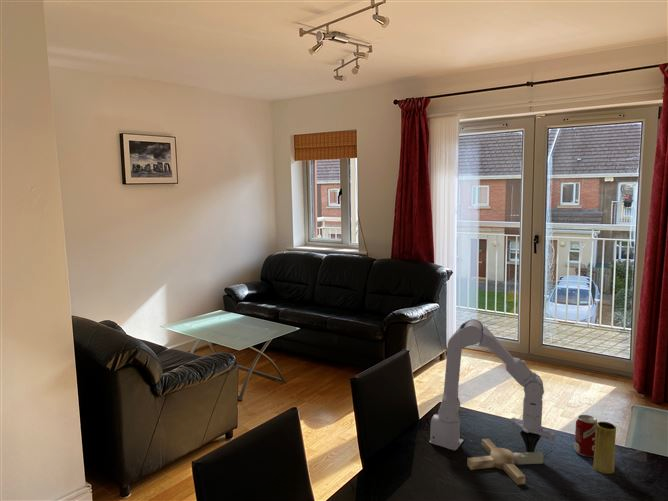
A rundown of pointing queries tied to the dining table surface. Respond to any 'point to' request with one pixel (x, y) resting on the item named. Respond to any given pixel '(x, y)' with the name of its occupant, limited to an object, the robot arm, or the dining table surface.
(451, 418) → the robot arm
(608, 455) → the vase
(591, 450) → the soda can
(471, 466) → the stool base
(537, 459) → the hinged leg
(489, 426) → the dining table surface
